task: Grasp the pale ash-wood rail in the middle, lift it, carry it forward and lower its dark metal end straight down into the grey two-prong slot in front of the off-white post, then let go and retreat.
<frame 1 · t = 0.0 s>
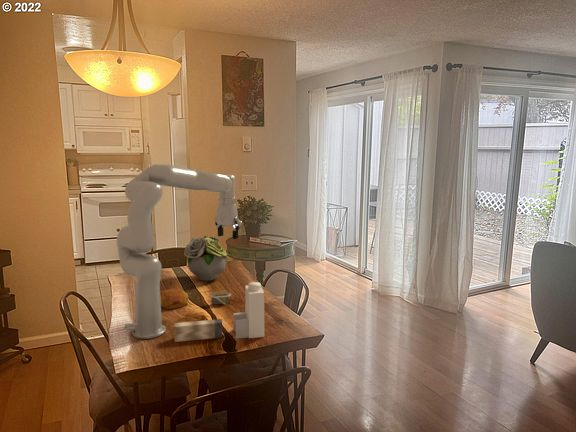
hand: (228, 237, 198), 31 cm above the table, tool pointing down, fingers open, 9 cm apart
post: (254, 332, 168), on the table
croissant: (172, 304, 198), on the table
flower arrangement: (207, 279, 236), on the table
rail: (198, 337, 163), on the table
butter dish: (220, 305, 198), on the table
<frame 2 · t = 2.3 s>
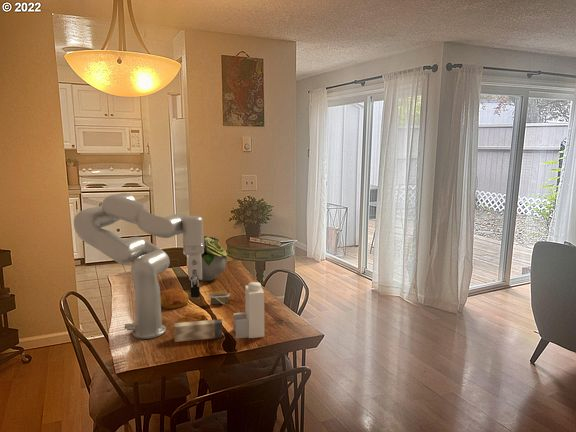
hand: (195, 292, 160), 18 cm above the table, tool pointing down, fingers open, 9 cm apart
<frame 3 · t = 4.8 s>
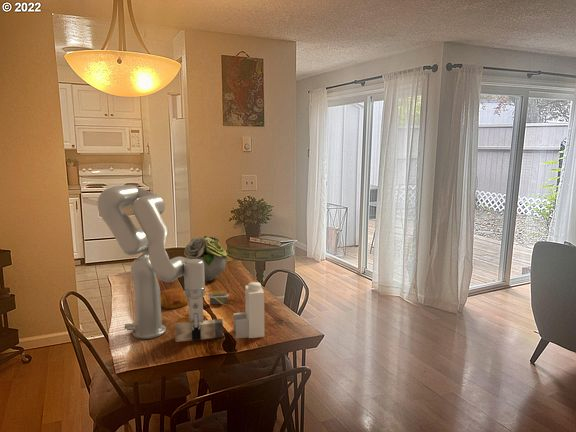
hand: (196, 336, 162), 0 cm above the table, tool pointing down, fingers closed on rail, 3 cm apart
rail: (199, 337, 163), on the table, touching gripper
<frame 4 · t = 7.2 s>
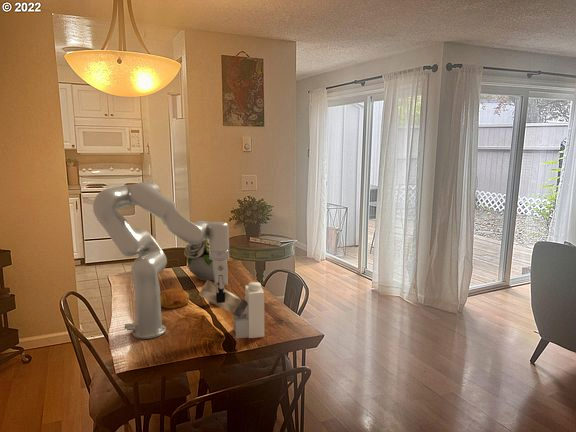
hand: (220, 300, 162), 15 cm above the table, tool pointing down, fingers closed on rail, 3 cm apart
rail: (219, 305, 162), point 13 cm above the table, tilted 34°, touching gripper, post
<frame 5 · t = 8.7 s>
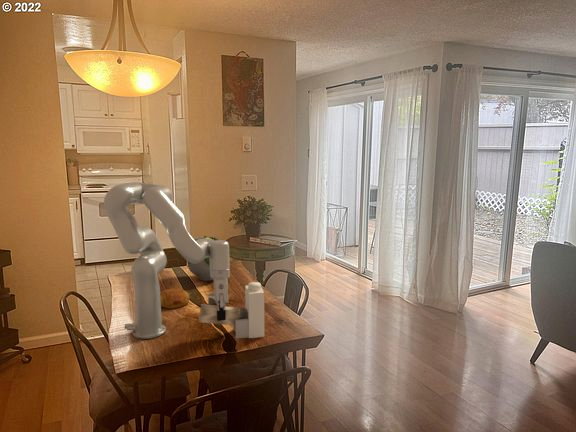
hand: (220, 317, 163), 7 cm above the table, tool pointing down, fingers closed on rail, 3 cm apart
rail: (221, 322, 164), point 5 cm above the table, tilted 11°, touching gripper, post
when the fingers open (2 cm above the table, at t = 10.1 s): rail stays where it is, on the table.
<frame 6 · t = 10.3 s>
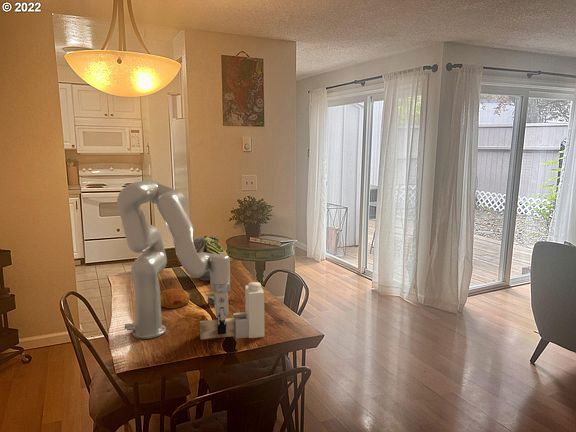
hand: (221, 329, 164), 2 cm above the table, tool pointing down, fingers open, 5 cm apart
rail: (223, 335, 165), on the table
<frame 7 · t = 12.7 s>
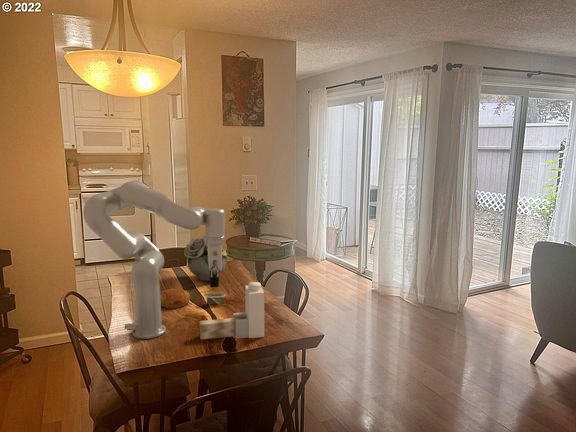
hand: (214, 282, 165), 20 cm above the table, tool pointing down, fingers open, 9 cm apart
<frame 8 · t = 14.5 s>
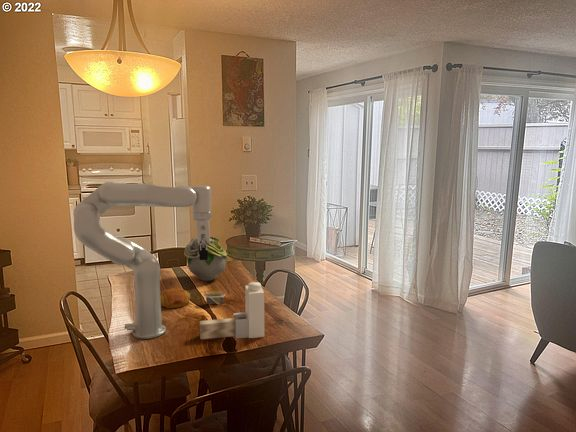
hand: (203, 256, 173), 28 cm above the table, tool pointing down, fingers open, 9 cm apart
at the end: rail 0.1 cm from the target spot on the table beside the post, on the table; rail tilted 0°; the gripper is holding nothing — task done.
